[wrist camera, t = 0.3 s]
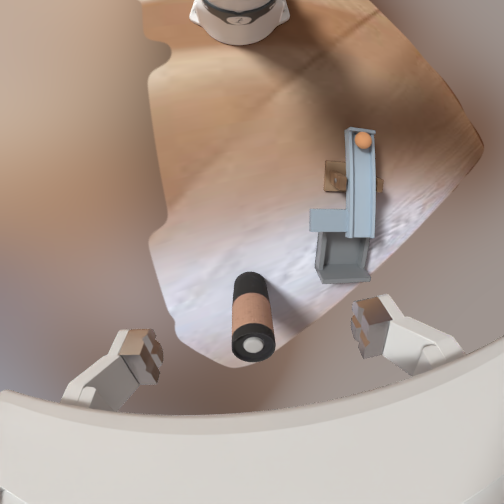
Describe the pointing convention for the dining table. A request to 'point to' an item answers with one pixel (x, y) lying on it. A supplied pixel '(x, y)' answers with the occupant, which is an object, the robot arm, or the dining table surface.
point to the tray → (341, 258)
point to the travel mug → (252, 319)
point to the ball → (363, 140)
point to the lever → (353, 193)
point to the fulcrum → (341, 177)
